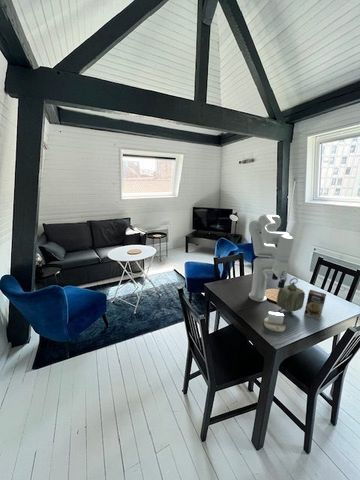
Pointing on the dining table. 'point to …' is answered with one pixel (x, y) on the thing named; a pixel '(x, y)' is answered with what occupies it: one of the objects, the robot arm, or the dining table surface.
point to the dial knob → (275, 318)
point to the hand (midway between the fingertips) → (277, 283)
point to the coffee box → (315, 304)
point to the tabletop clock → (290, 298)
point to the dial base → (274, 326)
